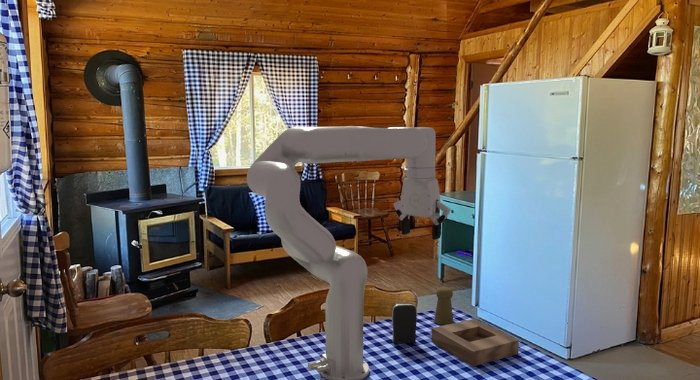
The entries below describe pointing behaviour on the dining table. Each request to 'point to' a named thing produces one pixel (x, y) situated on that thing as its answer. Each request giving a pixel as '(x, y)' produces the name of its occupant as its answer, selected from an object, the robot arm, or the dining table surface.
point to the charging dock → (475, 341)
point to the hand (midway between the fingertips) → (420, 236)
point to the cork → (444, 306)
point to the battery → (404, 322)
